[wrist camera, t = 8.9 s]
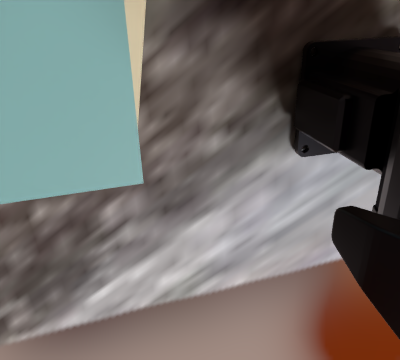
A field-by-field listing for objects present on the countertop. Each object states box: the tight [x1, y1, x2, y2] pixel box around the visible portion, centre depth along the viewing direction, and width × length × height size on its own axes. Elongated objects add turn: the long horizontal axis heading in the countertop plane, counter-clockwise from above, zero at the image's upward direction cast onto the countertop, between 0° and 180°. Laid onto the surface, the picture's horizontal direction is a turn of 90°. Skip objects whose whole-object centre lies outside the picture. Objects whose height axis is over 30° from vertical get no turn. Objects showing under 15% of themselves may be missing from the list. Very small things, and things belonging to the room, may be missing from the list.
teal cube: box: [0, 0, 143, 204], centre depth 11 cm, size 6×6×6 cm
